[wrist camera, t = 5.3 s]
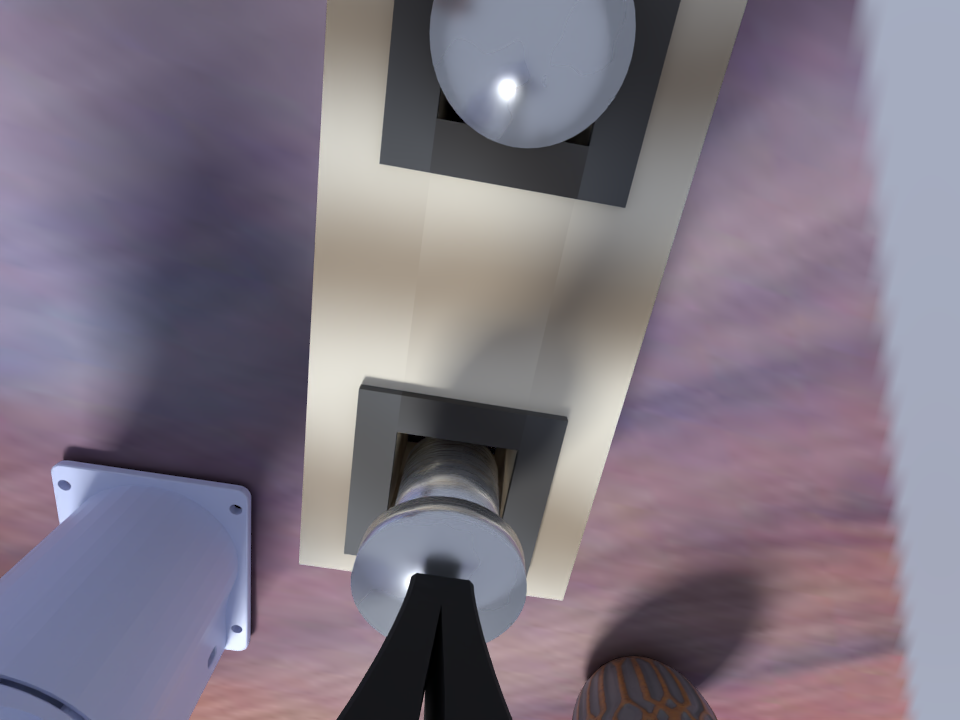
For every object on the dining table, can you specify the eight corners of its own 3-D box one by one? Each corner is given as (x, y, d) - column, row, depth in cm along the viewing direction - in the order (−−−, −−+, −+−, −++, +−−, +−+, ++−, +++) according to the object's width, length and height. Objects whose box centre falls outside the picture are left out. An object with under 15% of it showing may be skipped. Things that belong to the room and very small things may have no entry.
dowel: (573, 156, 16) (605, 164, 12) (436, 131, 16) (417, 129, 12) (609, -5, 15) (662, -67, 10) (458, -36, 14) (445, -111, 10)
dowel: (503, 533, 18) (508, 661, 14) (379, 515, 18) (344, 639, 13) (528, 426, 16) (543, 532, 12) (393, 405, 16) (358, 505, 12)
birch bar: (547, 506, 23) (563, 607, 18) (337, 476, 22) (296, 571, 18) (698, -55, 15) (798, -146, 10) (385, -120, 15) (334, -248, 10)
